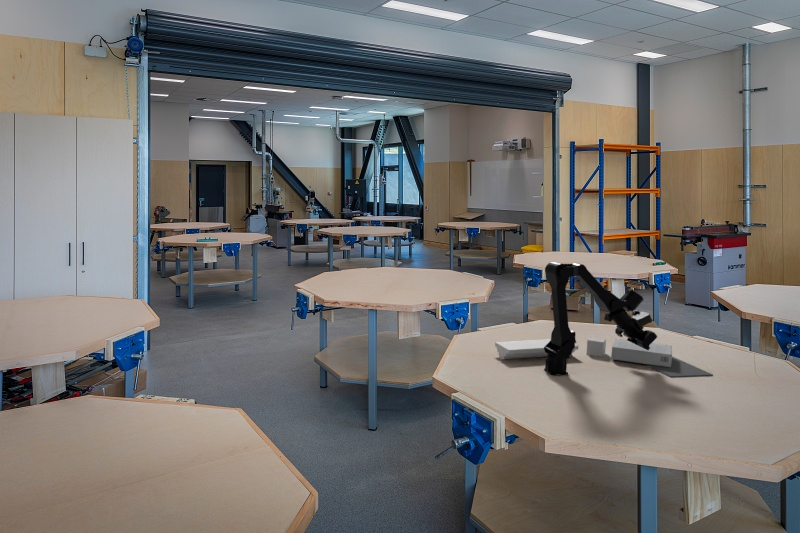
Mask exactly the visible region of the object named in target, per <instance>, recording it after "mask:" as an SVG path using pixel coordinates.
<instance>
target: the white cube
mask: <svg viewBox="0 0 800 533" xmlns="http://www.w3.org/2000/svg"><path fill="white" fill-rule="evenodd" d="M586 343H587V344H586V354H585V355H589V356H594V357H600V358H602V357H604V355H605V354H606V348H607V339H606V338H601V337H600V338H599V337H593V336H591V337H589V338H588V339H587V341H586Z"/></svg>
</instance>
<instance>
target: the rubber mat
mask: <svg viewBox="0 0 800 533" xmlns="http://www.w3.org/2000/svg"><path fill="white" fill-rule="evenodd" d="M644 366H647V367H649V368H651V369H652V370H655V371H657V372H660V373H661V374H663V375H665V376H668V377H669V378H686V377H687V378H688V377H689V378H690V377H710V376H711V377H712V376H714V374H713V373H711V372H709V371H706V370H704V369H701V368H700V367H697V366H695V365H692V364H690V363H687V362H686V361H684V360H681V359H679V358H677V357H674V356H672V363H671V367H665V366H657V365H650V364H644Z"/></svg>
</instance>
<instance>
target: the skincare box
mask: <svg viewBox="0 0 800 533" xmlns="http://www.w3.org/2000/svg"><path fill="white" fill-rule="evenodd" d="M649 347H650V349H649V350H646V349H644V348H642V347H640V346H638V345H636V344H634V343H632V342H630V341H627V339H624V338H614V341H613V344H612V346H611V353H610V354H611V355H610V359H611V360H615V361H616V360H617V361H622V362H629V363H636V364H643V365H645V364H650V365H657V366H665V367H671V363H672V357H673V349H672V347H673V345H670V344H663V343H655V342H652V343H651V344H650V345H649Z"/></svg>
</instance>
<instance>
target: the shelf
mask: <svg viewBox="0 0 800 533" xmlns="http://www.w3.org/2000/svg"><path fill="white" fill-rule="evenodd" d="M550 340H551V338H546V339H543V338H542V339H528V340H524V339H523V340H512V341H511V340H510V341H494V346H495V347H496V349H497V350H496V351H497V353H498V356H499V359H501V360H502V361H503V360H516V359H528V358H543V357H546V358H547V354H548V353H545V350H544V347H545V346H546V345H547V344H548V343H549V342H550ZM576 350H579V345H578V344H577V343H575V348H574V349H573V350H572V353H571V355H572V354H573V353H575V352H576ZM558 351H559V350H558ZM571 355H570V356H571Z"/></svg>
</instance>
